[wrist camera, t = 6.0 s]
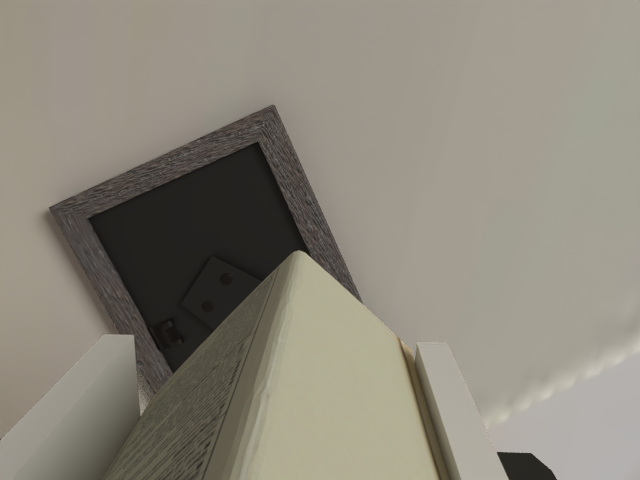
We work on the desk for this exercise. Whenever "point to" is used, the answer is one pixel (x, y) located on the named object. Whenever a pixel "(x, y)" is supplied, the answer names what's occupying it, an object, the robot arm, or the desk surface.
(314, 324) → the skincare box
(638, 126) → the desk surface
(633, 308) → the desk surface
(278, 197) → the picture frame
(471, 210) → the desk surface
